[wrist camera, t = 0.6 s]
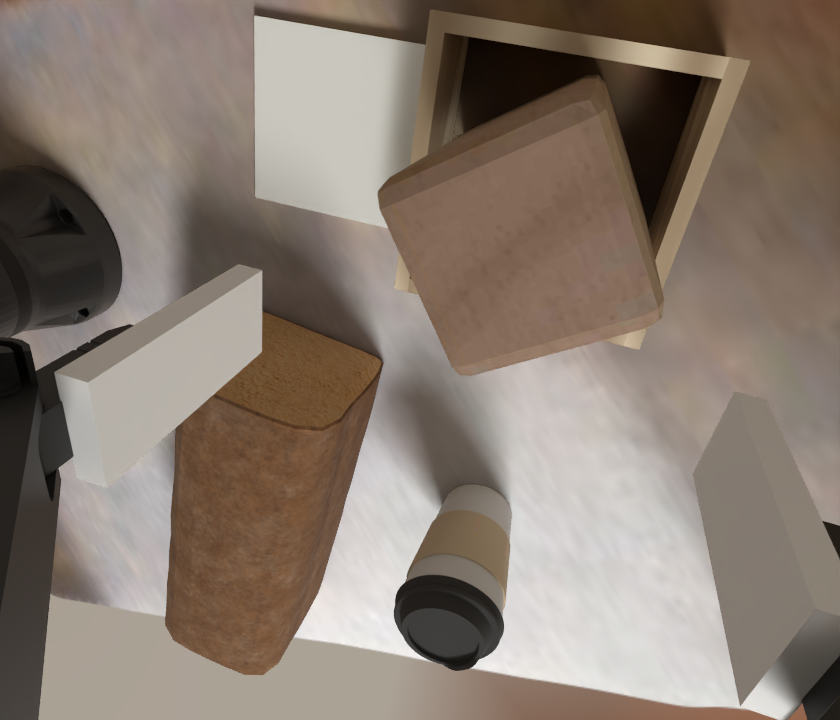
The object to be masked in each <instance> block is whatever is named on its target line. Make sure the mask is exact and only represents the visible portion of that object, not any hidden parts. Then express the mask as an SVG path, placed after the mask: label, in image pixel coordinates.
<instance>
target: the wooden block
mask: <svg viewBox="0 0 840 720" xmlns="http://www.w3.org/2000/svg"><path fill="white" fill-rule="evenodd" d="M377 196H378V202H379V209H380V211H381V214H382V216H383V218H384V220H385V222H386V224H387V227H388V229H389V231H390V233H391V235H392V237H393V240H394V242H395V244H396V246H397V248H398V250H399V253H400V255H401V257H402V259H403V261H404V263H405V266H406V268H407V270H408V272H409V274H410V276H411V279H412V281H413V283H414V285H415V287H416V289H417V292H418V294H419V296H420V298H421V300H422V302H423V305H424V307H425V309H426V311H427V313H428V315H429V318H430V320H431V322H432V324H433V326H434V328H435V331H436V333H437V335H438V337H439V339H440V341H441V344H442V346H443V348H444V350H445V352H446V354H447V357H448V359H449V361H450V363H451V365H452V367H453V368H454V369H455V370H456V371H457V372H458V373H459V375H469V376H472V375H475V374H479V373H483V372H486V371H490V370H494V369H498V368H501V367H505V366H509V365H512V364H516V363H520V362H524V361H527V360H531V359H535V358H538V357H542V356H546V355H549V354H553V353H557V352H561V351H564V350H568V349H572V348H575V347H579V346H583V345H587V344H590V343H594V342H598V341H601V340H605V339H609V338H612V337H616V336H620V335H624V334H627V333H631V332H635V331H638V330H642V329H646V328H647V327H649V326H651V325H652V324H654V323H656V322H657V321H659V320H660V318H661V317H662V312H663V306H664V296H663V292H662V288H661V283H660V279H659V275H658V270H657V266H656V262H655V257H654V253H653V249H652V244H651V240H650V236H649V231H648V227H647V223H646V218H645V214H644V210H643V205H642V201H641V198H640V195H639V191H638V188H637V185H636V181H635V178H634V175H633V171H632V168H631V165H630V161H629V158H628V155H627V151H626V148H625V145H624V141H623V138H622V135H621V131H620V128H619V125H618V121H617V118H616V115H615V111H614V108H613V105H612V101H611V98H610V95H609V91H608V88H607V85H606V83H605V82H604V81H603V80H602V78H601V77H600V76H599V75H585V76H583V77H581V78H579V79H576V80H574V81H572V82H570V83H568V84H566V85H564V86H562V87H559V88H557V89H555V90H553V91H551V92H549V93H547V94H544V95H542V96H540V97H538V98H536V99H534V100H532V101H529V102H527V103H525V104H523V105H521V106H519V107H517V108H515V109H512V110H510V111H508V112H506V113H504V114H502V115H500V116H497V117H495V118H493V119H491V120H489V121H487V122H485V123H483V124H480V125H478V126H476V127H474V128H472V129H470V130H468V131H467V132H465V133H463V134H462V135H460V136H458V137H457V138H455V139H453V140H452V141H450V142H448V143H447V144H445V145H443V146H442V147H440V148H438V149H437V150H435V151H433V152H431V153H430V154H428V155H426V156H425V157H423V158H421V159H420V160H418V161H416V162H415V163H413V164H411V165H410V166H408V167H406V168H405V169H403V170H401V171H400V172H398V173H396V174H395V175H393V176H391V177H390V178H388V180H387V181H386V182H385V183H384V184H383V185H382V187H381V188H380V189H379V190H378V194H377Z"/></svg>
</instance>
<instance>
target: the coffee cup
mask: <svg viewBox="0 0 840 720" xmlns="http://www.w3.org/2000/svg"><path fill="white" fill-rule="evenodd" d="M511 519H512V512H511V508H510V506H509V504H508V502H507V501H506V499H505V498H504V497H503V496H502V495H501V494H499V493H498V492H497V491H495V490H493V489H491V488H489V487H486V486H482V485H477V484H467V485H462V486H459V487H456V488H455V489H453V490H452V491H450V492H449V494H448V495H447V496H446V498H445V500H444V503H443V505H442V507H441V509H440V511H439V513H438V515H437V517H436V519H435V520H434V521H433V522H432V524H431V526H430V528H429V530H428V532H427V534H426V536H425V538H424V540H423V542H422V544H421V546H420V548H419V550H418V552H417V554H416V556H415V558H414V560H413V562H412V564H411V566H410V568H409V570H408V573H407V579H406V581H405V583H404V584H403V585H402V586H401V587H400V588H399V590H398V592H397V594H396V599H395V608H394V619H395V622H396V625H397V627H398V629H399V631H400V632H401V634H402V635H403V637H404V639H405V641H406V642H407V644H408V645H409V646H410V647H411V648H412V649H413V650H414V651H415V652H417V653H418V654H419V655H421V656H422V657H424V658H426V659H428V660H430V661H433V662H436V663H439V664H443V665H444V666H446V667H448V668H449V669H451V670H455V671H460V670H466V669H469V668H471V667H473V666H474V665H475V664H476V663H477V661H478V660H479V659H481V658H484V657H486V656H487V655H489V654H490V653H492V652H493V651H494V650H495V649H496V647H497V646H498V644H499V641H500V639H501V637H502V635H503V631H504V622H503V618H502V614H503V609H504V607H505V601H506V589H507V578H508V567H509V555H510V542H509V540H510V530H511Z"/></svg>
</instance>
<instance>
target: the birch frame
mask: <svg viewBox="0 0 840 720" xmlns="http://www.w3.org/2000/svg"><path fill="white" fill-rule="evenodd" d="M469 37H474V38H480V39H486V40H492V41H498V42H504V43H510V44H516V45H522V46H528V47H534V48H540V49H546V50H552V51H558V52H564V53H570V54H575V55H581V56H587V57H593V58H599V59H605V60H611V61H617V62H623V63H629V64H635V65H641V66H647V67H653V68H659V69H665V70H671V71H677V72H683V73H689V74H695V75H701V76H702V78H701V81H700V84H699V87H698V90H697V92H696V95H695V98H694V101H693V104H692V107H691V109H690V112H689V115H688V118H687V121H686V124H685V126H684V129H683V132H682V135H681V138H680V141H679V143H678V146H677V149H676V152H675V155H674V158H673V160H672V163H671V166H670V169H669V172H668V175H667V177H666V180H665V183H664V186H663V189H662V192H661V194H660V197H659V200H658V203H657V206H656V209H655V212H654V214H653V217H652V220H651V223H650V226H649V229H648V231H649V236H650V240H651V244H652V249H653V253H654V257H655V262H656V266H657V270H658V275H659V279H660V283H661V288H662V289H663V287H664V284H665V281H666V279H667V276H668V274H669V271H670V268H671V266H672V263H673V261H674V258H675V256H676V253H677V250H678V248H679V245H680V243H681V240H682V237H683V235H684V232H685V230H686V227H687V225H688V222H689V219H690V217H691V214H692V212H693V209H694V206H695V204H696V201H697V199H698V196H699V193H700V191H701V188H702V186H703V183H704V181H705V178H706V175H707V173H708V170H709V168H710V165H711V162H712V160H713V157H714V155H715V152H716V149H717V147H718V144H719V142H720V139H721V137H722V134H723V131H724V129H725V126H726V124H727V121H728V118H729V116H730V113H731V111H732V108H733V105H734V103H735V100H736V98H737V95H738V93H739V90H740V87H741V85H742V82H743V80H744V77H745V74H746V72H747V69H748V67H749V64H750V61H748V60H742V59H736V58H730V57H724V56H717V55H711V54H705V53H699V52H693V51H686V50H680V49H674V48H668V47H662V46H655V45H649V44H643V43H637V42H631V41H624V40H618V39H612V38H606V37H600V36H593V35H587V34H581V33H575V32H569V31H562V30H556V29H550V28H544V27H538V26H531V25H525V24H519V23H513V22H507V21H501V20H494V19H488V18H482V17H476V16H470V15H463V14H457V13H451V12H445V11H439V10H432V9H430V14H429V22H428V30H427V38H426V45H425V53H424V61H423V69H422V77H421V84H420V92H419V100H418V108H417V116H416V123H415V131H414V139H413V147H412V154H411V162H410V165H411V164H413V163H415V162H416V161H418V160H420V159H421V158H423V157H425V156H426V155H428V154H430V153H431V152H433V151H435V150H437V149H438V148H440V147H442V146H443V145H445V144H447V143H448V142H450V141H452V140H453V134H454V128H455V122H456V116H457V109H458V103H459V97H460V91H461V85H462V78H463V72H464V66H465V60H466V54H467V47H468V41H469ZM394 289H398V290H402V291H406V292H410V293H414V294H418V292H417V289H416V287H415V285H414V283H413V281H412V279H411V276H410V274H409V272H408V270H407V268H406V266H405V263H404V261H403V259H402V257H401V255H400V253H399V256H398V263H397V271H396V279H395V287H394ZM418 295H419V294H418ZM647 328H648V327H647ZM647 328H646V329H642V330H638V331H635V332H631V333H627V334H624V335H620V336H616V337H612V338H609V339H605V340H602V341H606V342H610V343H614V344H618V345H622V346H626V347H630V348H634V349H638V350H639V349H640V346H641V344H642V341H643V338H644V336H645V333H646V331H647Z"/></svg>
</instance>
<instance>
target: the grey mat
mask: <svg viewBox="0 0 840 720" xmlns="http://www.w3.org/2000/svg"><path fill="white" fill-rule="evenodd" d="M424 53H425V45H424V44H418V43H413V42H407V41H401V40H395V39H389V38H384V37H378V36H372V35H366V34H360V33H355V32H349V31H343V30H337V29H331V28H326V27H320V26H314V25H308V24H302V23H297V22H291V21H285V20H279V19H273V18H268V17H262V16H254V54H255V198H259V199H264V200H268V201H272V202H277V203H281V204H285V205H290V206H294V207H298V208H303V209H307V210H311V211H316V212H320V213H324V214H329V215H333V216H337V217H341V218H346V219H350V220H354V221H359V222H363V223H367V224H372V225H376V226H380V227H385V228H388V227H387V224H386V222H385V220H384V218H383V216H382V214H381V211H380V209H379V202H378V196H377V194H378V190H379V189H380V188H381V187H382V185H383V184H384V183H385V182H386V181H387V180H388V178H390V177H391V176H393V175H395V174H396V173H398V172H400V171H401V170H403V169H405V168H406V167H408V166H410V162H411V154H412V147H413V139H414V131H415V123H416V116H417V108H418V100H419V92H420V84H421V77H422V69H423V61H424Z"/></svg>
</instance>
